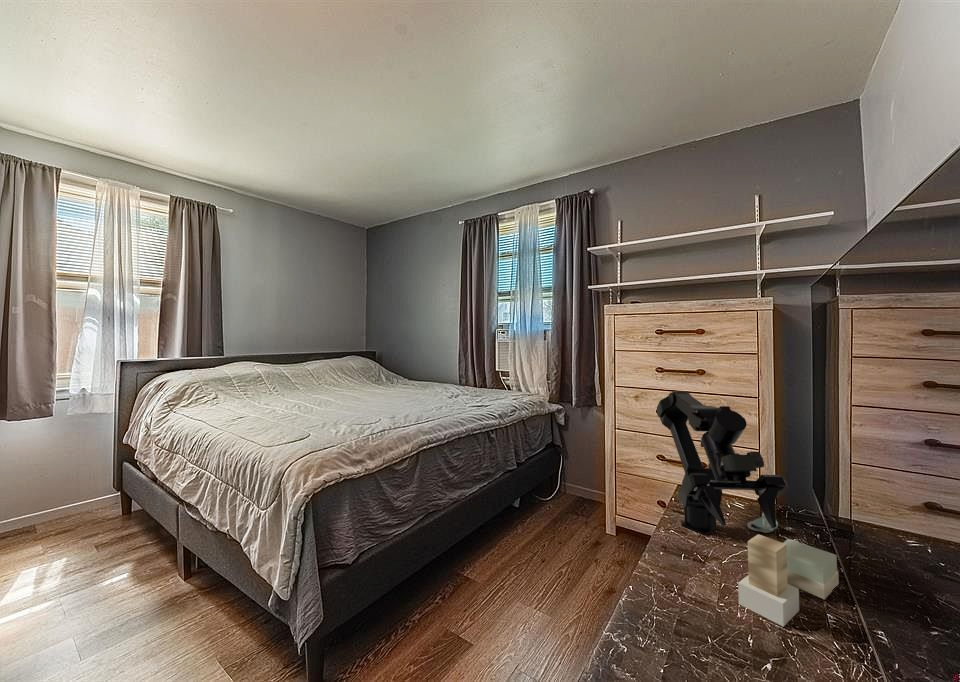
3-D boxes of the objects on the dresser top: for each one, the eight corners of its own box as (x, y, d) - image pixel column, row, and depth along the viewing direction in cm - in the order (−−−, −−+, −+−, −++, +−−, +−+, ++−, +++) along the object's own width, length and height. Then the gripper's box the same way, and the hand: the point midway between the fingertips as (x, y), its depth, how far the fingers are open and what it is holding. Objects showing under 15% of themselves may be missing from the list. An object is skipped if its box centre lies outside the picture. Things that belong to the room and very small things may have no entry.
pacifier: (742, 529, 100) (770, 538, 95) (741, 505, 100) (768, 512, 95) (754, 521, 104) (780, 529, 99) (752, 498, 104) (779, 504, 100)
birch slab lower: (774, 579, 80) (774, 565, 80) (790, 566, 84) (789, 553, 84) (824, 601, 73) (824, 585, 73) (838, 585, 77) (838, 571, 77)
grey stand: (738, 603, 72) (738, 582, 72) (755, 590, 76) (755, 569, 76) (783, 626, 66) (782, 603, 66) (799, 610, 70) (798, 588, 70)
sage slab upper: (773, 565, 80) (773, 550, 80) (788, 552, 84) (788, 538, 84) (823, 584, 73) (823, 568, 73) (837, 569, 77) (836, 555, 77)
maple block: (748, 583, 72) (747, 541, 72) (759, 575, 74) (758, 534, 74) (777, 597, 68) (776, 552, 68) (787, 587, 70) (786, 544, 70)
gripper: (686, 436, 84) (711, 509, 73) (781, 437, 81) (821, 512, 70) (675, 461, 91) (695, 530, 80) (760, 462, 89) (793, 534, 78)
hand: (749, 526), depth 77 cm, fingers open, 9 cm apart
